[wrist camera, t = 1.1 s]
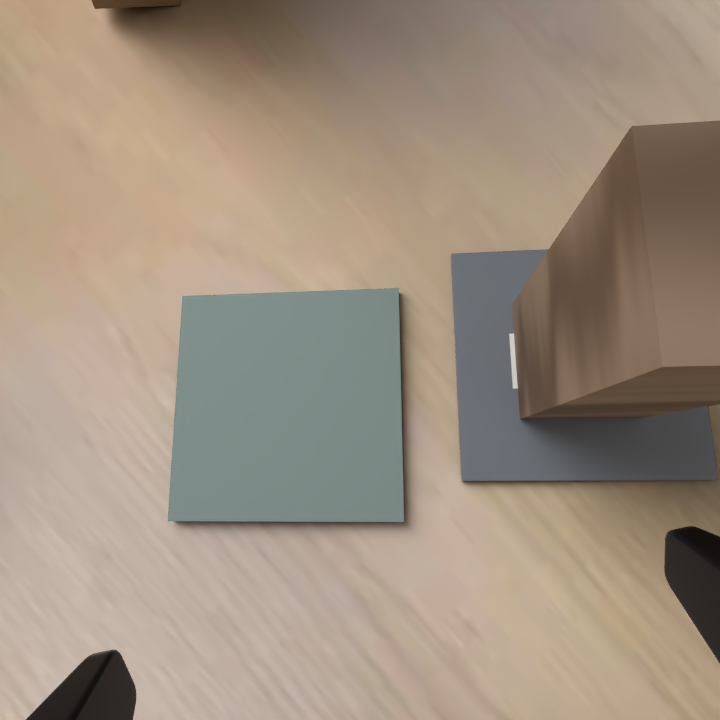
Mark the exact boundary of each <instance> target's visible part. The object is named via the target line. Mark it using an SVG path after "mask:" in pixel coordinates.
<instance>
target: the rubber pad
mask: <svg viewBox="0 0 720 720" xmlns="http://www.w3.org/2000/svg"><path fill="white" fill-rule="evenodd" d="M168 521H268V522H404V493H403V450H402V408H401V365H400V322H399V288H389V289H363V290H336V291H309V292H283V293H256V294H229V295H203V296H183V298H182V313H181V328H180V343H179V359H178V374H177V389H176V404H175V419H174V435H173V450H172V465H171V480H170V495H169V511H168Z"/></svg>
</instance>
